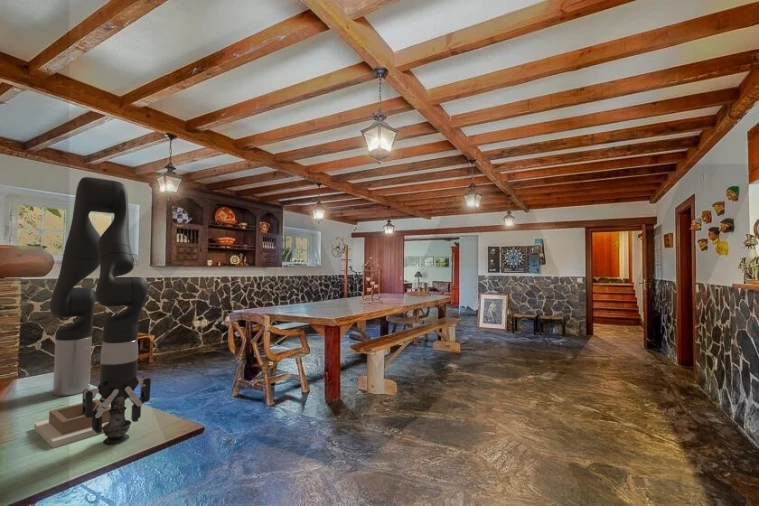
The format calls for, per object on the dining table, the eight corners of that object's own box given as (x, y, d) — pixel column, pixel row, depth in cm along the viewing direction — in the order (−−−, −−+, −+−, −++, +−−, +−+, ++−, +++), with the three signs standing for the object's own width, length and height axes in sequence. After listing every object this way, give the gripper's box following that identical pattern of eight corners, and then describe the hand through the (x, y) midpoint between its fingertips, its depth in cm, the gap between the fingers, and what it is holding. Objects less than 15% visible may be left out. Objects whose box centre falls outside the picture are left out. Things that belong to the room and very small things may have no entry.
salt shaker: (96, 441, 91) (98, 391, 91) (122, 432, 96) (124, 384, 96) (109, 448, 88) (111, 396, 88) (135, 437, 93) (137, 389, 94)
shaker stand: (34, 429, 96) (34, 411, 96) (103, 410, 108) (104, 394, 108) (52, 448, 87) (53, 428, 88) (125, 425, 100) (126, 408, 100)
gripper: (144, 350, 100) (142, 412, 100) (78, 361, 89) (75, 432, 89) (157, 355, 96) (155, 420, 96) (90, 368, 84) (87, 442, 84)
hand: (116, 426), depth 92 cm, fingers open, 7 cm apart
